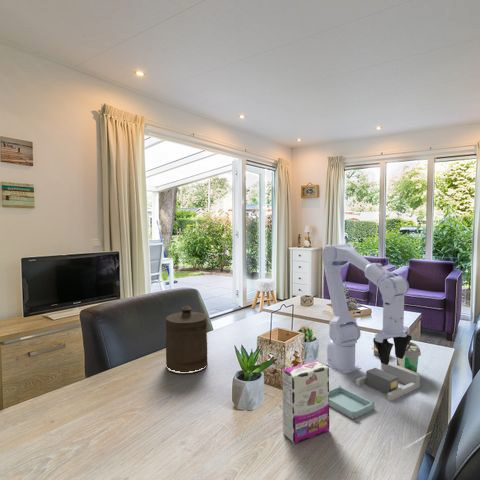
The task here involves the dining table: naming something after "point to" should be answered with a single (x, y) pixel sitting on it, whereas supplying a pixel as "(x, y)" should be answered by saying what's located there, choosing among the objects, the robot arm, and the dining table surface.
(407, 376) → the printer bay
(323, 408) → the candy bar box
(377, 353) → the architectural model
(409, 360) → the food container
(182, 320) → the wooden container
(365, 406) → the tray
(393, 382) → the grey rectangular block
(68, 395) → the dining table surface
